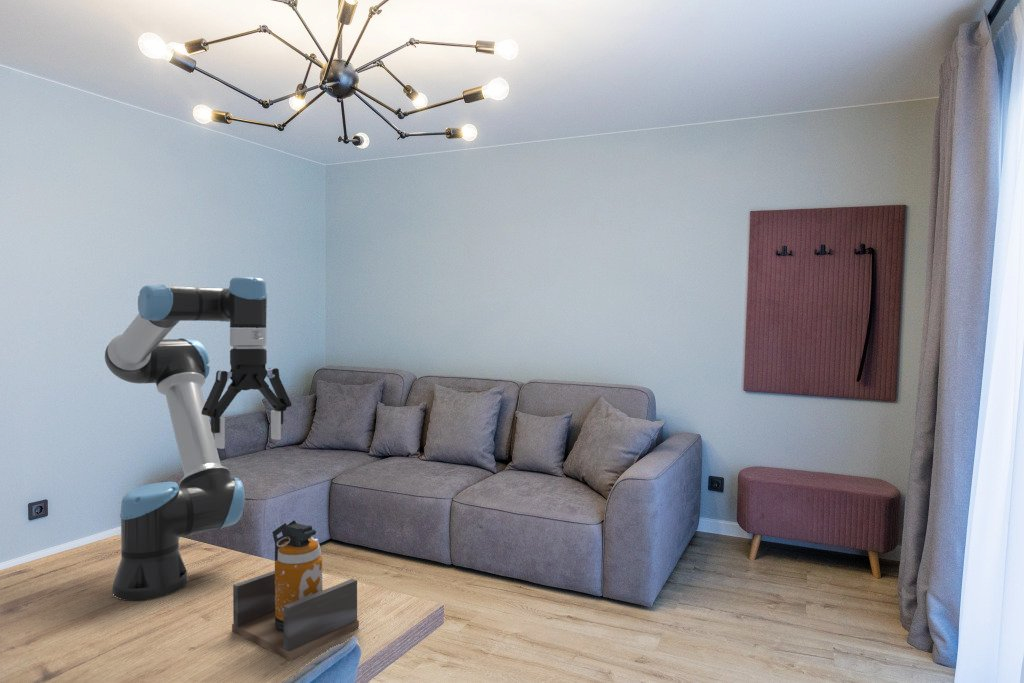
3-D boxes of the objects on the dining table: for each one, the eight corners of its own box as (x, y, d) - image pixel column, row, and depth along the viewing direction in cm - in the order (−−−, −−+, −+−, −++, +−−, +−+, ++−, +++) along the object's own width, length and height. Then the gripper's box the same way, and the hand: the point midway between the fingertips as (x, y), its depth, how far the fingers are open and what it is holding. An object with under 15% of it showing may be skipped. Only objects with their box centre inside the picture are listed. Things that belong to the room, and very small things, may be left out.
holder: (232, 631, 129) (231, 584, 128) (300, 603, 142) (300, 560, 141) (290, 660, 118) (290, 608, 117) (358, 627, 131) (358, 580, 130)
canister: (295, 638, 123) (295, 533, 122) (258, 624, 129) (257, 524, 128) (332, 620, 130) (331, 521, 130) (295, 607, 136) (294, 513, 136)
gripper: (202, 349, 131) (203, 454, 131) (306, 346, 151) (306, 437, 152) (183, 348, 135) (184, 449, 136) (287, 346, 155) (287, 434, 156)
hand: (248, 443), depth 144 cm, fingers open, 13 cm apart
